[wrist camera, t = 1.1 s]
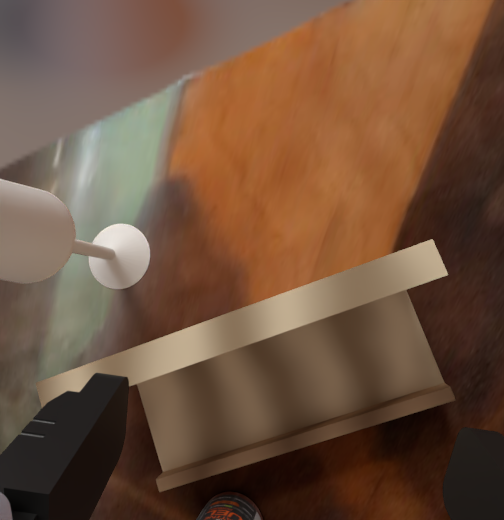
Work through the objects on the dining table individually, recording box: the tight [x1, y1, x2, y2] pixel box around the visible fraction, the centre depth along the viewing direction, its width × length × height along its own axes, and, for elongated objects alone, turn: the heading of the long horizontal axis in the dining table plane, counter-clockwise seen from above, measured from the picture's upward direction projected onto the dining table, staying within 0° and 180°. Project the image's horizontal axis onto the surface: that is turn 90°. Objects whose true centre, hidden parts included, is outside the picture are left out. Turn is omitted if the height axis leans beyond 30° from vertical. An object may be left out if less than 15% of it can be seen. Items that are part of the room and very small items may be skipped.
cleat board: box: [36, 239, 455, 492], centre depth 30 cm, size 24×11×16 cm, turn 110°
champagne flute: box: [0, 179, 150, 289], centre depth 30 cm, size 7×7×24 cm
